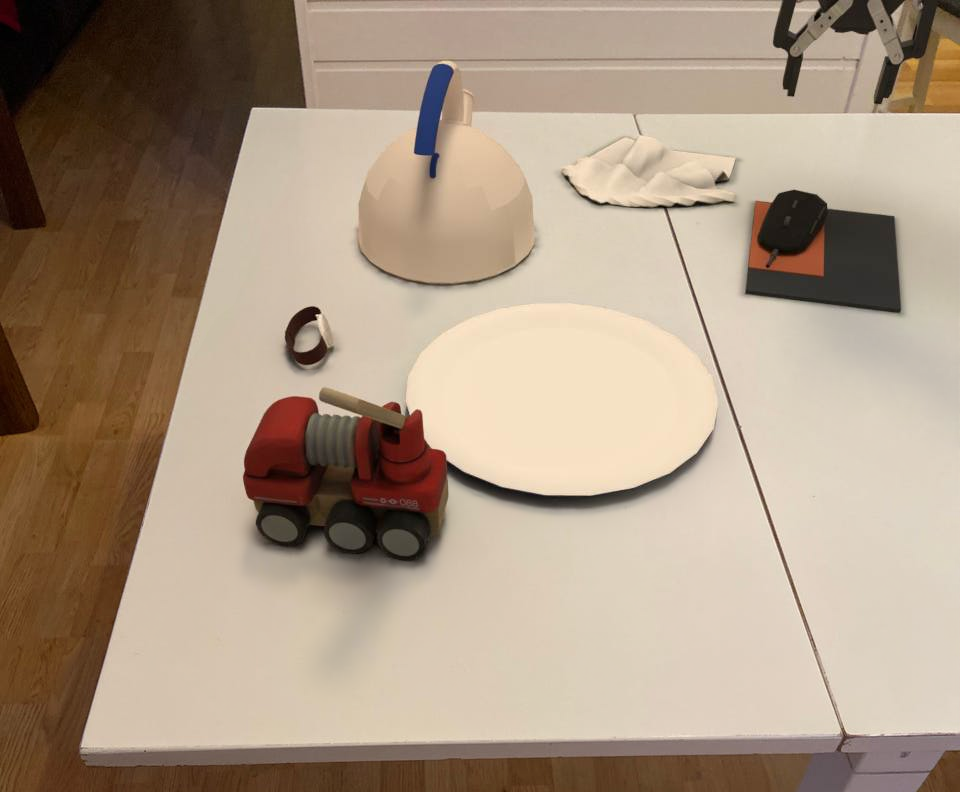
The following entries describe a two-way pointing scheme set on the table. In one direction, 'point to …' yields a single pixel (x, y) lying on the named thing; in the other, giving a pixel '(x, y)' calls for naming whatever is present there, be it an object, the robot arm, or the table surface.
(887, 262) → the mat
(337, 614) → the table surface
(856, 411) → the table surface
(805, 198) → the gaming mouse
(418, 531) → the toy fire truck
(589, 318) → the plate
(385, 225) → the kettle
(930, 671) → the table surface
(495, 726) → the table surface
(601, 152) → the cloth
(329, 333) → the watch
